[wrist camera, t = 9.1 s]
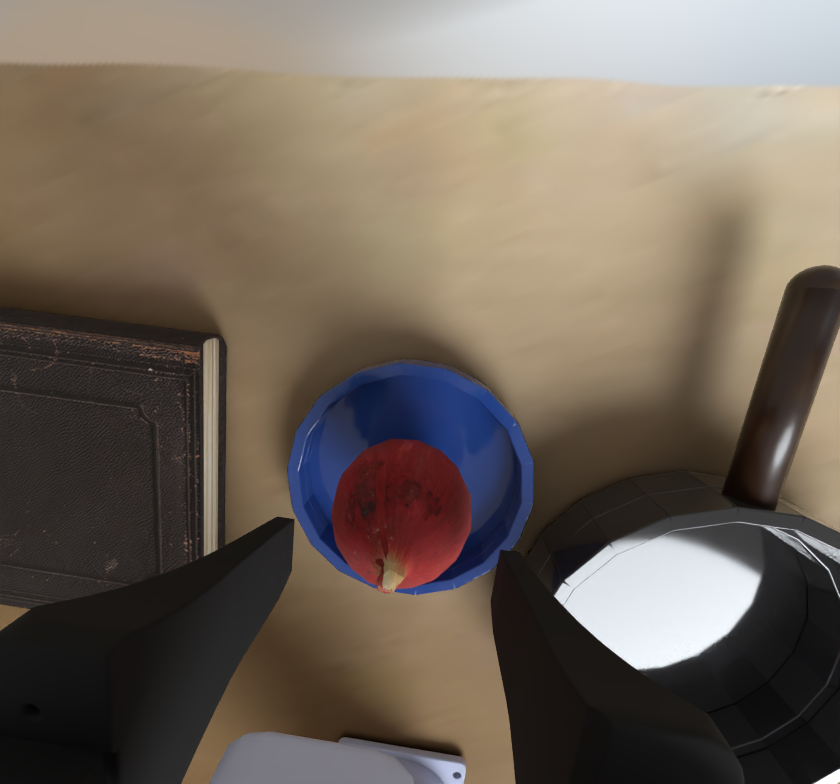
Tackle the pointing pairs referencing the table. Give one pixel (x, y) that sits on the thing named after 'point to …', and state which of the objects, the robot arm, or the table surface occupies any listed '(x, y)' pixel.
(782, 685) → the frying pan
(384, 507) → the onion
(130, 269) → the table surface
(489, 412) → the saucer
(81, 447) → the hardcover book
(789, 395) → the pan handle
